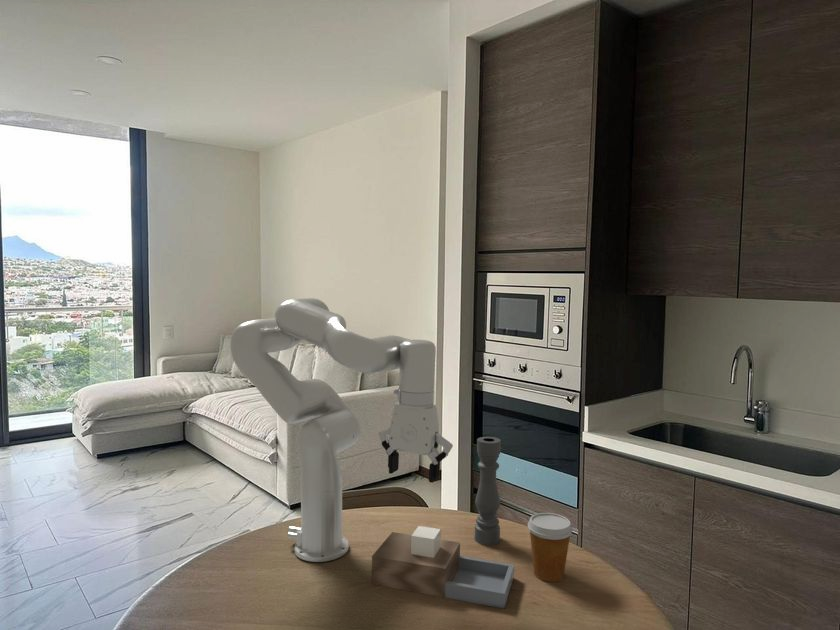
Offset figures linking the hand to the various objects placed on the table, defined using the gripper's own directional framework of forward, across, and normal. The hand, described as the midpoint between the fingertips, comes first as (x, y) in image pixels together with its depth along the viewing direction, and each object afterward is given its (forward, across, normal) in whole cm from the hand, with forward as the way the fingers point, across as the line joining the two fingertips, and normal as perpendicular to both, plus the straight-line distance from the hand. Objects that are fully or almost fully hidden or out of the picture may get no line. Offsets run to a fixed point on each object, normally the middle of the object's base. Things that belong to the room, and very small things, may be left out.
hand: (413, 476), depth 122 cm
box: (+21, +16, +1) cm, 27 cm away
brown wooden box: (+22, +2, -1) cm, 22 cm away
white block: (+16, +4, 0) cm, 16 cm away
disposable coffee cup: (+21, +27, +13) cm, 37 cm away
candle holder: (+22, +10, +23) cm, 33 cm away
